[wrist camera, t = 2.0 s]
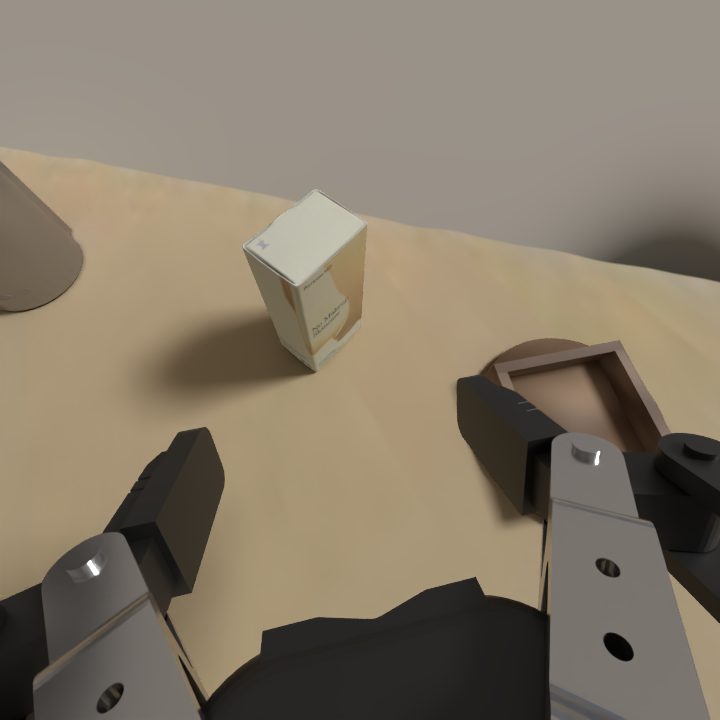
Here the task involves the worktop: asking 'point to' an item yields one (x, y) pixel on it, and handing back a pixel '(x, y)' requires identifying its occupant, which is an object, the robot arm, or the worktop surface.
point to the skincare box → (312, 276)
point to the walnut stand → (584, 390)
